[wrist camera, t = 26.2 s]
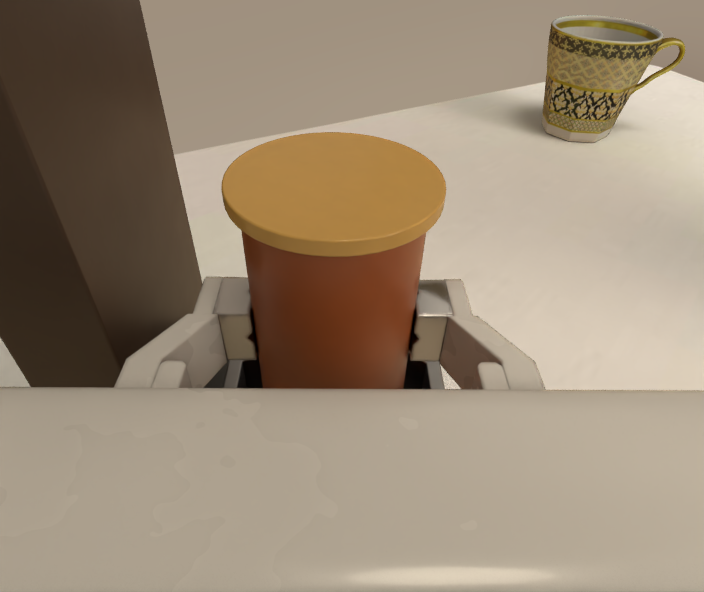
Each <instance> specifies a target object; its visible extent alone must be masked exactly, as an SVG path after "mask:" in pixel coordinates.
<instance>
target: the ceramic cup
mask: <svg viewBox="0 0 704 592" xmlns="http://www.w3.org/2000/svg"><path fill="white" fill-rule="evenodd" d="M663 37H664V35H663V33H662V32H661V31H660V30H658V29H656V28H654V27H652V26H649V25H646V24H643V23H639V22H635V21H631V20H626V19H620V18H613V17H604V16H589V15H584V16H583V15H581V16H580V15H578V16H566V17H561V18H558V19H555V20H554V21H553V22H552V24H551V30H550V36H549V45H548V57H547V76H546V85H545V96H544V105H543V115H542V125H543V127H544V129H545V131H546V133H548V134H551V135H553V136H556V137H559V138H561V139H564V140H567V141H575V142H592V143H593V142H596V141H598V140H600V139H602V138H604V137H606V136H607V135H608V134H609V132H610V130H611V129H612V127H613V125H614V123H615V121H616V119H617V118H618V116H619V114H620V112H621V111H622V109H623V107H624V105H625V104H626V102H627V100H628V99H629V97H630V95H631V94H632V93H634V92H635V91H636V90H638V89H640V88H642V87H644V86H645V85H646V84H648V83H649V82H650V81H652V80H653V79H655V78H656V77H658V76H660V75H662V74H664V73H666V72H668V71H670V70H671V69H673V68H674V67H675V66H677V65H678V64H679V63H680V61H681V60H682V59H683V56H684V53H685V46H684V43H683V42H682V41H681V40H679V39H676V38H665V39H663ZM671 45H677V46H679V49H680V52H679V55H678V57H677V59H676V60H675V61H674V62H673V63H672V64H670V65H669V66H667V67H665V68H663V69H662V70H660V71H658V72H656V73H654V74H652V75H651V76H649V77H648V78H646V79H645V80H644V81H642V82H641V83H639V84H637V83H638V82H639V80H640V79H641V77H642V75H643V73H644V72H645V70H646V68H647V67H648V65H649V63H650V61H651V60H652V58H653V57H654V55H655V54H656V53H657V52H658V51H660V50H661V49H663V48H666V47H668V46H671Z"/></svg>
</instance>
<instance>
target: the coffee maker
mask: <svg viewBox="0 0 704 592" xmlns="http://www.w3.org/2000/svg"><path fill="white" fill-rule="evenodd" d="M201 287H202V280H201V276H200V271H199V267H198V262H197V258H196V253H195V249H194V244H193V240H192V235H191V231H190V226H189V222H188V217H187V213H186V208H185V204H184V199H183V195H182V190H181V186H180V181H179V177H178V172H177V168H176V163H175V159H174V154H173V150H172V145H171V141H170V136H169V132H168V127H167V122H166V118H165V114H164V109H163V105H162V100H161V96H160V91H159V87H158V82H157V77H156V73H155V68H154V65H153V60H152V55H151V50H150V46H149V41H148V37H147V32H146V28H145V23H144V19H143V14H142V10H141V5H140V1H139V0H0V337H1V339H2V341H3V342H4V344H5V345H6V347H7V349H8V350H9V352H10V354H11V355H12V357H13V358H14V360H15V362H16V363H17V365H18V366H19V368H20V370H21V371H22V373H23V375H24V376H25V378H26V379H27V381H28V383H29V384H30V386H31V387H96V388H114V386H115V384H116V382H117V379H118V377H119V375H120V372H121V370H122V368H123V366H124V363H125V361H126V359H127V358H128V357H130V356H131V355H132V354H134V353H135V352H136V351H138V350H139V349H140V348H142V347H143V346H145V345H146V344H147V343H149V342H150V341H151V340H153V339H154V338H155V337H157V336H158V335H159V334H161V333H162V332H164V331H165V330H166V329H168V328H169V327H170V326H172V325H173V324H174V323H176V322H177V321H178V320H180V319H181V318H183V317H184V316H185V315H187V314H193V311H194V308H195V305H196V302H197V299H198V296H199V293H200V290H201ZM223 388H263V384H262V377H261V369H260V362H259V355H258V354H257V359H256V360H229V362H228V366H227V371H226V375H225V380H224V384H223ZM403 389H445V387H444V382H443V377H442V371H441V366H440V363H439V362H432V361H411V360H410V353H408V360H407V366H406V373H405V380H404V387H403Z"/></svg>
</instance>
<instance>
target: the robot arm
mask: <svg viewBox="0 0 704 592" xmlns="http://www.w3.org/2000/svg"><path fill="white" fill-rule="evenodd" d="M409 353H410V360H411V361H432V362H439V363H440V364H441V366H442V367H443V368H444V369H445V370H446V371H447V373H448V374H449V375H450V376H451V377H452V378H453V380H454V381H455V382H456V383H457V384H458V385H459V386H460V388H461V389H279V388H203V387H204V386H205V385H206V384H207V383H208V382H209V381H210V380H211V379H212V378H213V377H214V376H215V375H216V373H217V372H218V371H219V370H220V369H221V368H222V367H223V366H224V365H225V364H226V363H227V360H256V359H257V354H258V347H257V340H256V333H255V326H254V318H253V311H252V304H251V297H250V289H249V282H248V278H245V277H206V278H205V279H204V281H203V284H202V287H201V290H200V293H199V296H198V299H197V302H196V305H195V308H194V311H193V314H187V315H185V316H184V317H183V318H181V319H180V320H178V321H177V322H176V323H174V324H173V325H172V326H170V327H169V328H168V329H166V330H165V331H164V332H162V333H161V334H159V335H158V336H157V337H155V338H154V339H153V340H151V341H150V342H149V343H147V344H146V345H145V346H143V347H142V348H140V349H139V350H138V351H136V352H135V353H134V354H132V355H131V356H130V357H128V358H127V359H126V361H125V363H124V366H123V368H122V370H121V372H120V375H119V377H118V379H117V382H116V384H115V386H114V388H96V387H0V592H704V391H700V390H546V389H545V387H544V384H543V381H542V379H541V376H540V373H539V371H538V368H537V365H536V363H535V361H533V360H532V359H531V358H530V357H528V356H527V355H526V354H525V353H523V352H522V351H521V350H520V349H518V348H517V347H516V346H515V345H513V344H512V343H511V342H509V341H508V340H507V339H506V338H504V337H503V336H502V335H501V334H499V333H498V332H497V331H496V330H494V329H493V328H492V327H491V326H489V325H488V324H487V323H486V322H484V321H483V320H482V319H481V318H479V317H478V316H473V314H472V311H471V307H470V304H469V300H468V297H467V294H466V290H465V287H464V283H463V281H462V280H461V279H444V280H419V285H418V292H417V298H416V305H415V311H414V318H413V326H412V332H411V339H410V346H409Z"/></svg>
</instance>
